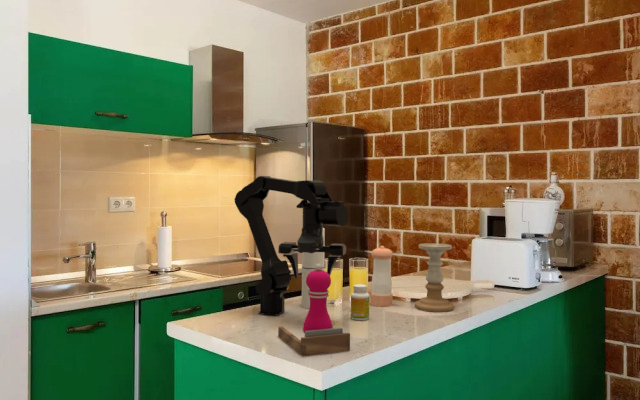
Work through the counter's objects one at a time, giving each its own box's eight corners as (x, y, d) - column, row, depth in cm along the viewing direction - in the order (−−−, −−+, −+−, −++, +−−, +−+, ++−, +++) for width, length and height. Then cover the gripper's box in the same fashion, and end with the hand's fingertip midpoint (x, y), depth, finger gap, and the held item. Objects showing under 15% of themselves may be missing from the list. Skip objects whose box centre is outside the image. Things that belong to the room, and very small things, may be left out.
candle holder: (451, 313, 167) (452, 248, 166) (411, 310, 171) (412, 246, 171) (456, 305, 178) (457, 244, 178) (418, 302, 183) (419, 242, 182)
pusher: (304, 352, 127) (304, 330, 126) (340, 348, 130) (340, 327, 130) (306, 353, 126) (306, 332, 125) (342, 349, 129) (342, 328, 129)
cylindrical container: (307, 309, 170) (308, 229, 170) (297, 305, 177) (298, 227, 176) (327, 307, 174) (328, 228, 173) (317, 303, 180) (318, 227, 179)
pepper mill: (301, 342, 135) (302, 261, 134) (330, 341, 136) (332, 261, 135) (303, 351, 128) (304, 266, 127) (334, 350, 129) (335, 266, 128)
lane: (278, 336, 140) (278, 320, 140) (321, 331, 145) (321, 316, 145) (302, 356, 124) (302, 338, 124) (349, 350, 129) (350, 333, 128)
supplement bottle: (367, 321, 157) (368, 287, 156) (349, 320, 158) (349, 286, 157) (370, 316, 162) (370, 284, 162) (352, 315, 163) (352, 283, 163)
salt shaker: (366, 304, 178) (367, 246, 178) (376, 300, 184) (376, 244, 184) (386, 307, 174) (387, 247, 174) (396, 303, 181) (396, 245, 180)
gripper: (272, 225, 150) (272, 282, 150) (339, 227, 146) (338, 285, 146) (284, 222, 161) (283, 275, 161) (346, 224, 157) (346, 278, 157)
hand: (312, 278), depth 156 cm, fingers open, 9 cm apart
